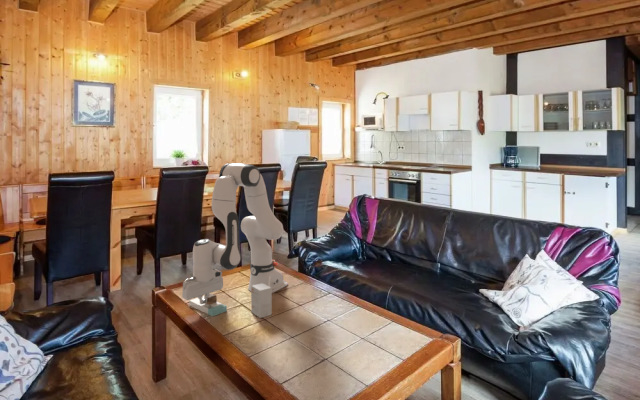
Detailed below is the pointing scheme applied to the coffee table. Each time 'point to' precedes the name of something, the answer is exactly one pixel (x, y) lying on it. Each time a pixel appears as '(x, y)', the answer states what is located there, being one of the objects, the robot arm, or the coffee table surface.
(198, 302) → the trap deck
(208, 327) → the coffee table surface
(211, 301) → the block
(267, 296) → the small box
